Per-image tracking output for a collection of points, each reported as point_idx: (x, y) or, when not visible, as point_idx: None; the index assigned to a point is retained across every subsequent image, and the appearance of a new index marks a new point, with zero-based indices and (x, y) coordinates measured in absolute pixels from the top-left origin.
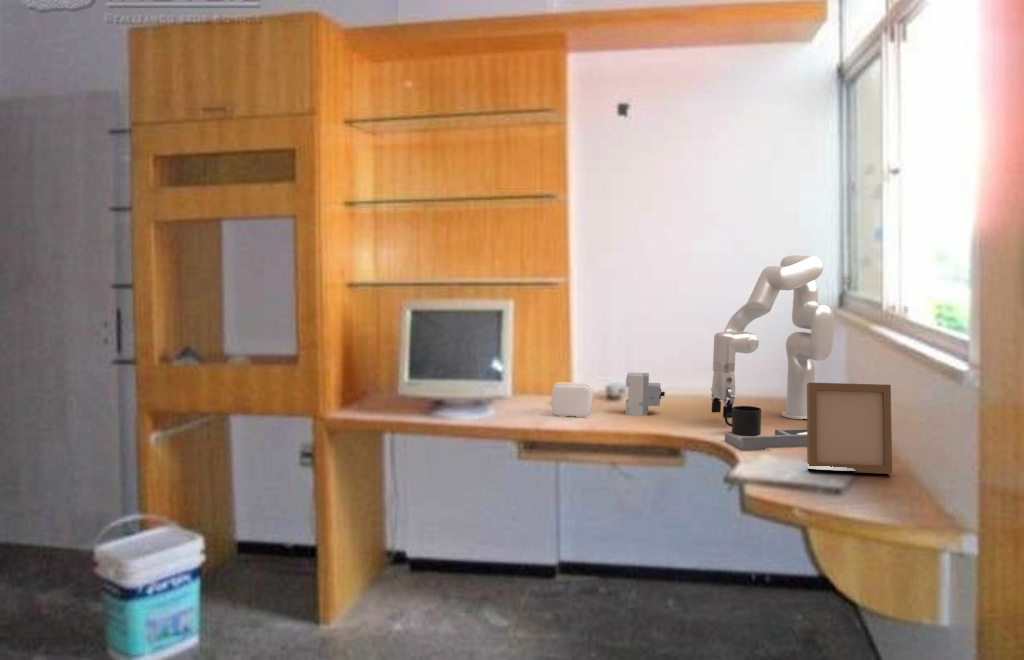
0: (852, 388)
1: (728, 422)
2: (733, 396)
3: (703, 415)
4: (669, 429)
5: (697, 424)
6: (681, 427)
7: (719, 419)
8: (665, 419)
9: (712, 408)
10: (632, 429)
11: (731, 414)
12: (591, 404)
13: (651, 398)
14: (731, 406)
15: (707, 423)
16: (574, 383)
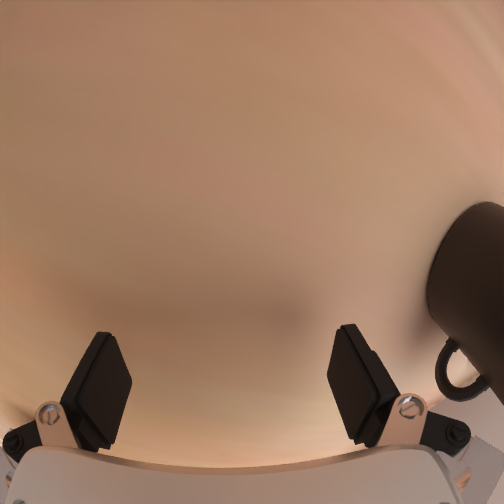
0: None
1: (445, 364)
2: (499, 464)
3: (5, 304)
4: (284, 462)
5: (212, 405)
6: (263, 445)
7: (68, 264)
8: (123, 442)
9: (123, 404)
10: None
11: (483, 384)
12: None
13: None
14: (408, 404)
15: (188, 367)
16: None
